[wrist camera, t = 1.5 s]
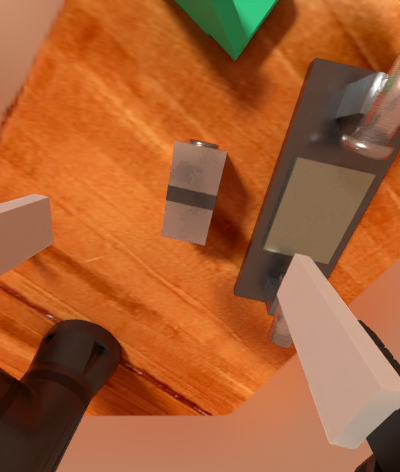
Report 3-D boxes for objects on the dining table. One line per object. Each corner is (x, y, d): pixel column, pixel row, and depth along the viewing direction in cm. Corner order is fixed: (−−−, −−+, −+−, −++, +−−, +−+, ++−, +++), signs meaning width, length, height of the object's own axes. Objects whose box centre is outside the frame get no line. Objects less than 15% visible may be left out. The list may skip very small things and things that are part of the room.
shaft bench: (302, 310, 35) (327, 361, 27) (231, 294, 35) (235, 341, 27) (429, 74, 22) (554, 33, 14) (315, 47, 22) (372, -9, 14)
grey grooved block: (207, 226, 31) (204, 248, 24) (173, 218, 31) (160, 239, 24) (226, 146, 26) (228, 148, 20) (186, 137, 26) (175, 135, 20)
